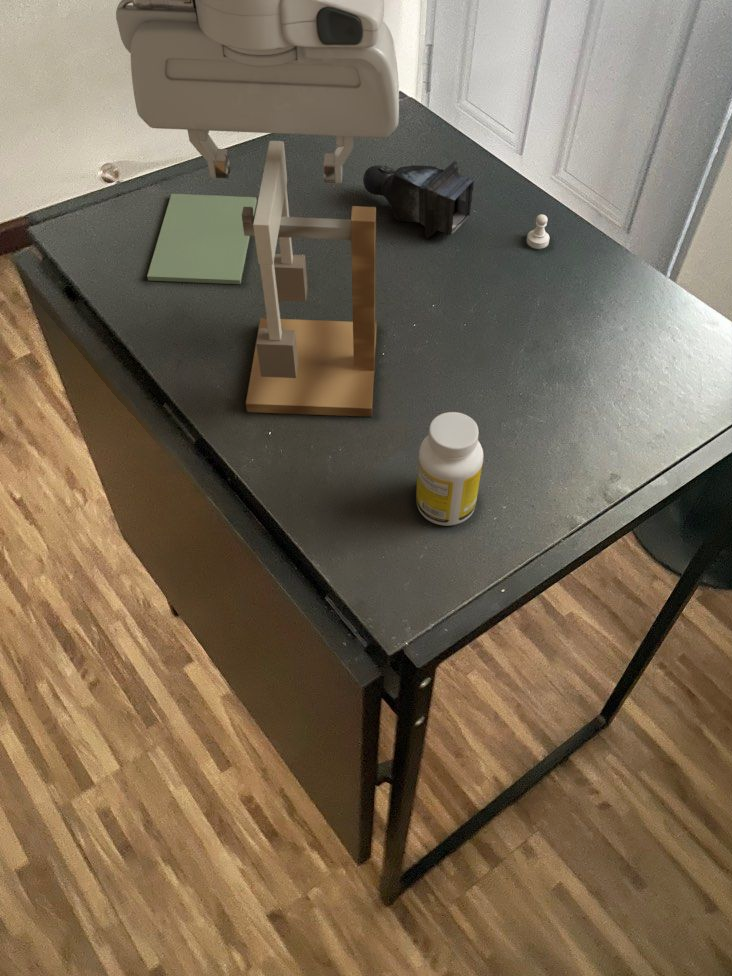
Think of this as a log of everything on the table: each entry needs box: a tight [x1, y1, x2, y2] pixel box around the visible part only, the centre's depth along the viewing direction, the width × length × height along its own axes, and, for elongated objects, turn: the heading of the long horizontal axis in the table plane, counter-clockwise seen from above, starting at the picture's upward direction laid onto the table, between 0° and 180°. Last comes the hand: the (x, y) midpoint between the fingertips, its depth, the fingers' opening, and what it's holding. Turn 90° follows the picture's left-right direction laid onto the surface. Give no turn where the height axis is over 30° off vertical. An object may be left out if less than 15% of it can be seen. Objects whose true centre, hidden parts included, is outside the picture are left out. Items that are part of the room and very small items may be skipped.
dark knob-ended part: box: [362, 160, 475, 239], centre depth 96 cm, size 6×13×6 cm, turn 60°
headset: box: [253, 140, 308, 378], centre depth 73 cm, size 3×12×16 cm, turn 179°
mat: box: [146, 193, 258, 285], centre depth 94 cm, size 10×15×1 cm, turn 179°
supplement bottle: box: [415, 411, 484, 527], centre depth 71 cm, size 5×5×10 cm
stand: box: [242, 205, 378, 418], centre depth 76 cm, size 12×12×18 cm
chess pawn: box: [526, 213, 550, 250], centre depth 95 cm, size 3×3×4 cm
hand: (277, 177), depth 70 cm, fingers open, 8 cm apart
